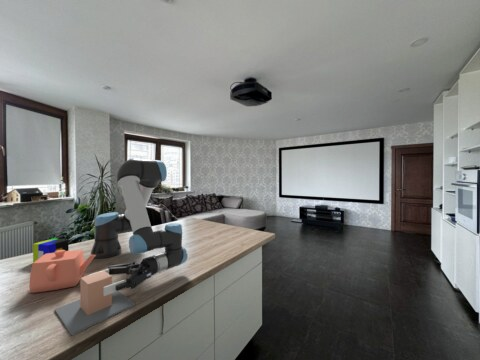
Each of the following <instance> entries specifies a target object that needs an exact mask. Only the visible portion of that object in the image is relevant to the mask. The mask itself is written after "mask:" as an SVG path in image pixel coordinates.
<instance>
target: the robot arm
mask: <svg viewBox="0 0 480 360" xmlns="http://www.w3.org/2000/svg"><path fill="white" fill-rule="evenodd" d="M167 175H168V174H167V166H166V164H165V163H164V161H162V160H158V159H146V158H145V159H142V158H130V159H126V161H124V162H123V163H121V165H120V166H119V167H118V170H117V172H116V183H117V186H118V187H119V188H121V193H122V197H123V201H124V205H125V208H126V209H125V211H124V213H121V214H120V213H119V212H117V211H115V212H114V211H113V212H107V213H102V214H98V215H97V216H96V217H95V219H94V224H93V225H94V242H93V245H92V248H91V250H90V255H96V256H95V257H94V258H93V259H107V258H111V257H115V256H117V255H118V256H119V255H120V254H121V253H122V246H121V243H120V240H119V235H120V234H126V233H132V234H133V235H131V236H130V237H129V239H128V248H129V251H130V253H131V254H133V255H136V254H137V255H138V254H144V253H146V252H147V253H148V252H150V251H154V250H158V249H162V248H163V249H164V251H163V252H160V253H157V254H154V255H150V256H147V257H144V258H142V260H141V262H140V263H136V261H132V262H126V263H120V264H114V265H107V268H106V269H102V270H100V271H95V272H93V273H90V274H88V275H91V274H94V273H98V272H101V271H105V272H107V273H108V274H109V275H111V276H113V275H114V276H115V275H125V274H126V275H127V276H129V277H127V278H126V279H123V280H119V281H116V282H112V284H110V285H108V286H105V287H103V296H106V295H109V294H111V293H114V292H116V291H119V292H120V291H121V290H124V289H129V288H130V290H134V289H135V288H137V287H138V286H139V285H141V284H142V283H144V282H145V281H146V280H147V279H149V278H151V277H152V276H154V275H156V274H160V273H162V272H164V271H167V270H170V269H173V268H175V267H178V266H181V265H182V264H185V262H187V260H188V253H187V249H186V248H185V247H183V241H182V240H183V226H182V224H181V223H179V222H177V223H176V222H174V223H173V222H171V223H167V224H165V226H164V229H161V230H155V231H154V230H153V227H152V225H151V221H150V218H149V217H150V216H149V215H148V210H147V205H148V203H149V201H150V198H151V195H152V193H153V191H154V189H155V188H157V187H158V186H159V184H160V182H162V183H163V182H165V181H166V179H167Z"/></svg>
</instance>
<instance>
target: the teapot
mask: <svg viewBox="0 0 480 360" xmlns="http://www.w3.org/2000/svg"><path fill="white" fill-rule="evenodd" d="M95 256H96V255H91V254H90V255H89V256H88V257H87V259H85V254H84V250H83V249H80V250H79V249H78V250H68V251H65V250H58V251H55V252H54V253H47V254H45V255H43V256H42V257H40V258H39V259H38V260H36V261H35V262H34V263H33V262H32V265H31V269H30V275H29V286H28V287H29V292H30V293H31V294H35V293H36V294H37V293H43V292H49V291H57V290H63V289H67V288H74V287H77V286H78V284H79V283H80V282H81V277H84V274H85V271H86V269H87V268H88V267H89V265H90V264H91V263H92V261H93V260H94V259H95V258H94V257H95Z"/></svg>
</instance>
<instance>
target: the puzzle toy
mask: <svg viewBox="0 0 480 360" xmlns="http://www.w3.org/2000/svg"><path fill="white" fill-rule="evenodd" d="M32 246H33V247H32V264H33V263H34V262H35V261H36V260H38V259H39V258H40V257H42V256H43V255H45V254H47V253H54V252H55V251H58V250H65V251H69V239H64V238H50V239H47V240H42V241H39V242H35V243H33V245H32Z"/></svg>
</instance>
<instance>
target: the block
mask: <svg viewBox="0 0 480 360" xmlns="http://www.w3.org/2000/svg"><path fill="white" fill-rule="evenodd" d="M100 271H101V272H99V271H97V272H98V273H96V272H93V273H94V274H93V273H90V274H91V275H89V274H88V275H85V276H82V277H81V280H80V291H79V292H80V293H79V295H80V299H79V300H80V307H81V308H82V309H83V311H84V312H85V313H86V314H87V315H90V314H92V313H95V312H97V311H99V310H101V309H104V308H106V307H108V306H111V305H112V293H111V294H109V295H106V296H103V287H105V286H108V285H110V284H113V275H109V274H108V273H107V272H105V271H103V270H100Z"/></svg>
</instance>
